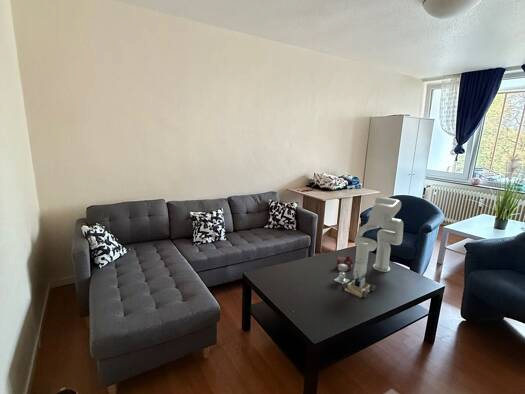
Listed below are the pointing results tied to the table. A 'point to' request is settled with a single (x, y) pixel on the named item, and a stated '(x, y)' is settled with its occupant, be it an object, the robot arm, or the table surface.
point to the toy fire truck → (345, 261)
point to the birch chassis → (358, 289)
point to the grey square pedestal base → (341, 278)
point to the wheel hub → (342, 267)
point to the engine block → (362, 282)
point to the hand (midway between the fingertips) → (359, 284)
